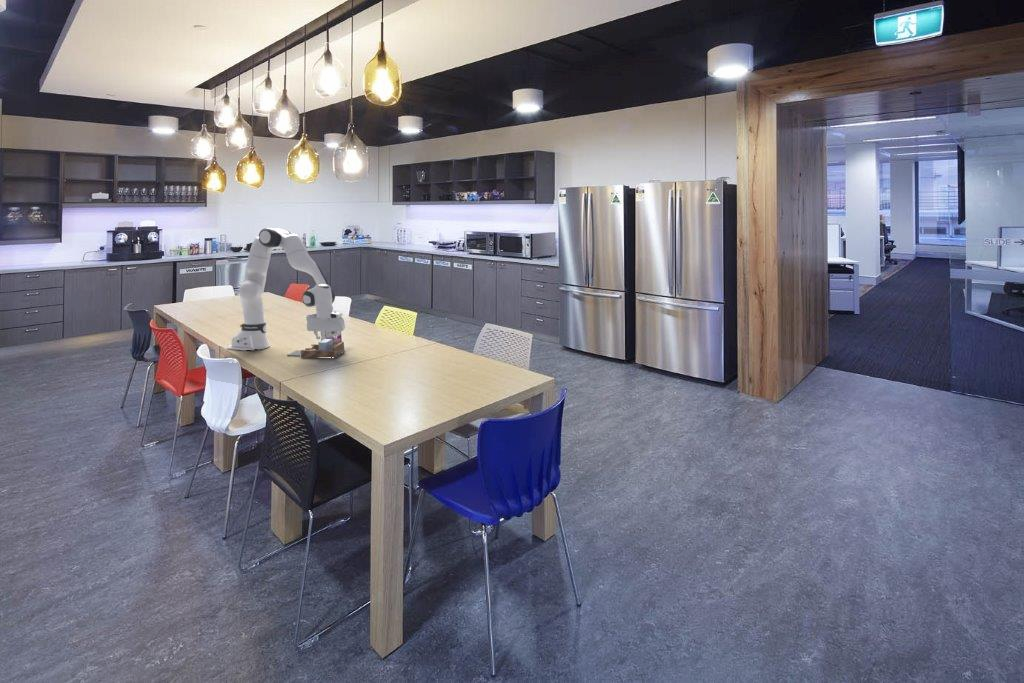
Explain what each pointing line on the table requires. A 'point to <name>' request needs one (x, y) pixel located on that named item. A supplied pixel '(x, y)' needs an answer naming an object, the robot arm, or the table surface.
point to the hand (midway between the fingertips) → (326, 339)
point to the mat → (295, 353)
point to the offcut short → (309, 348)
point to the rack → (321, 353)
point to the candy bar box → (331, 336)
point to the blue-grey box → (326, 345)
